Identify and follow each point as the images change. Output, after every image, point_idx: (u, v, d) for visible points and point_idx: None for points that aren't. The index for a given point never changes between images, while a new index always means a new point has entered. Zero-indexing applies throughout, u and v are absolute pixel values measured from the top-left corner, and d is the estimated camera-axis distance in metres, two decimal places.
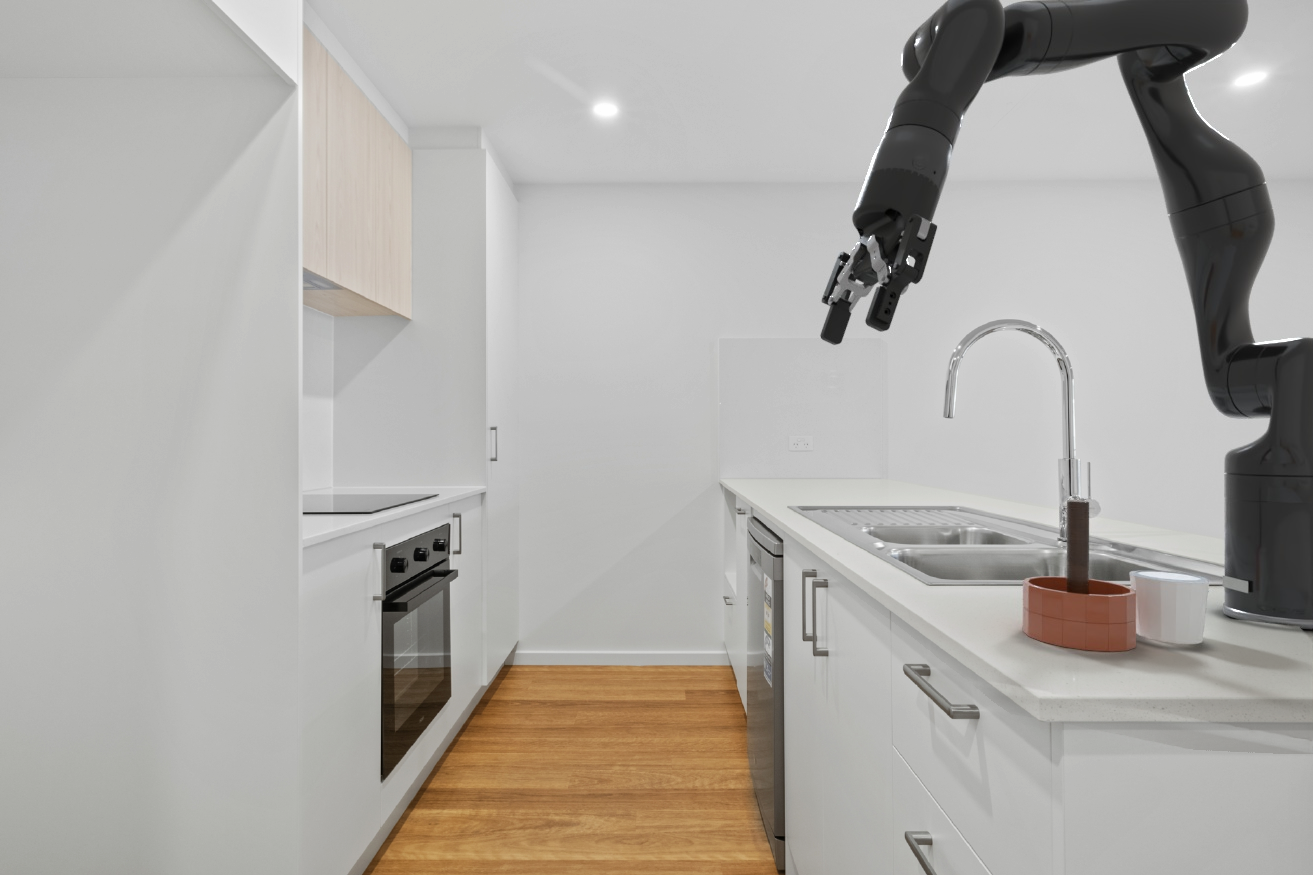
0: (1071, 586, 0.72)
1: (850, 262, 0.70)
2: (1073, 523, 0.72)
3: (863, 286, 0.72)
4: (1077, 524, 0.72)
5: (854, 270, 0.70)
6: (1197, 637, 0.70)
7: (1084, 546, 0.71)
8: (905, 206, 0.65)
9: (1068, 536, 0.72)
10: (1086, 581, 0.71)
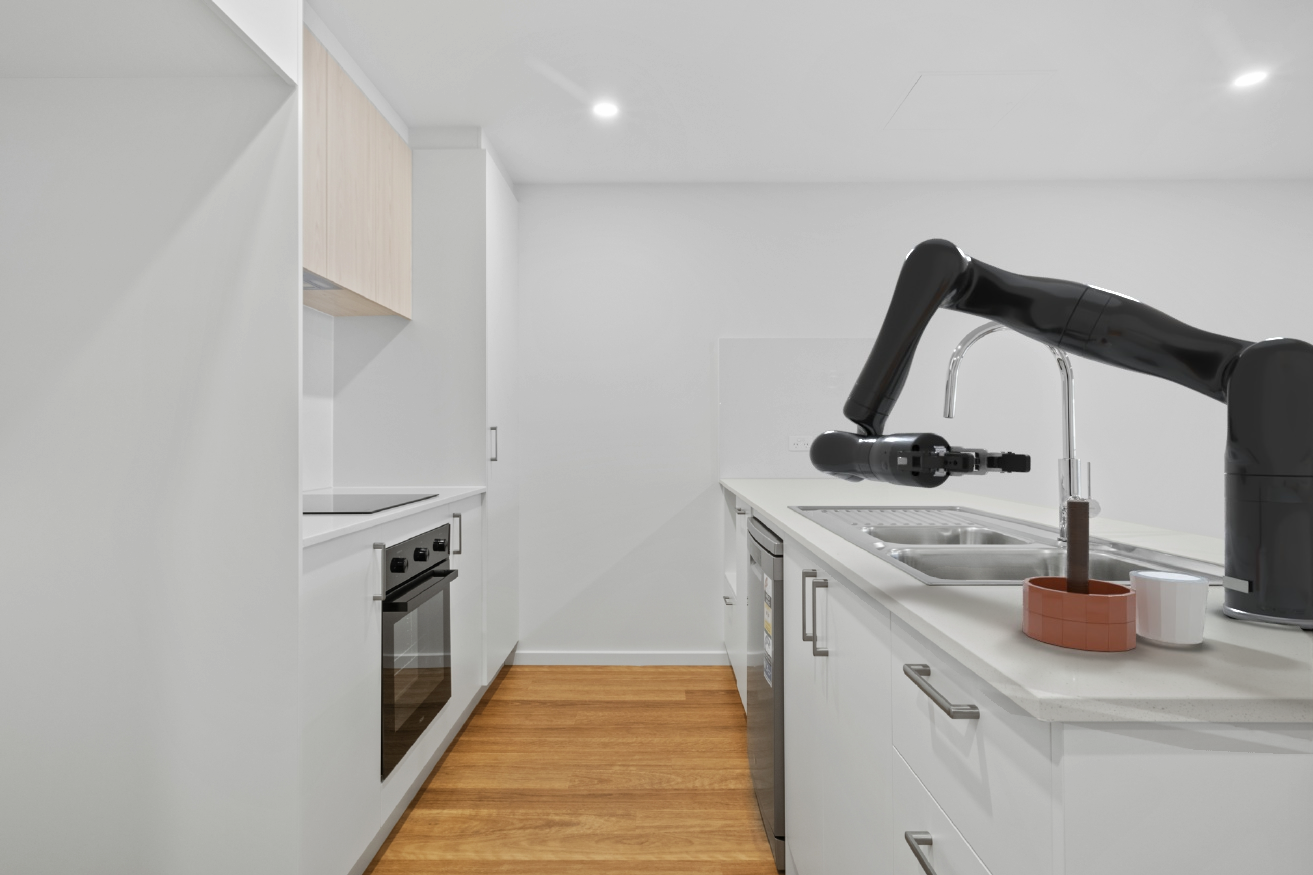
0: (1071, 586, 0.72)
1: (966, 474, 0.90)
2: (1073, 523, 0.72)
3: (979, 454, 0.89)
4: (1077, 524, 0.72)
5: None
6: (1197, 637, 0.70)
7: (1084, 546, 0.71)
8: None
9: (1068, 536, 0.72)
10: (1086, 581, 0.71)
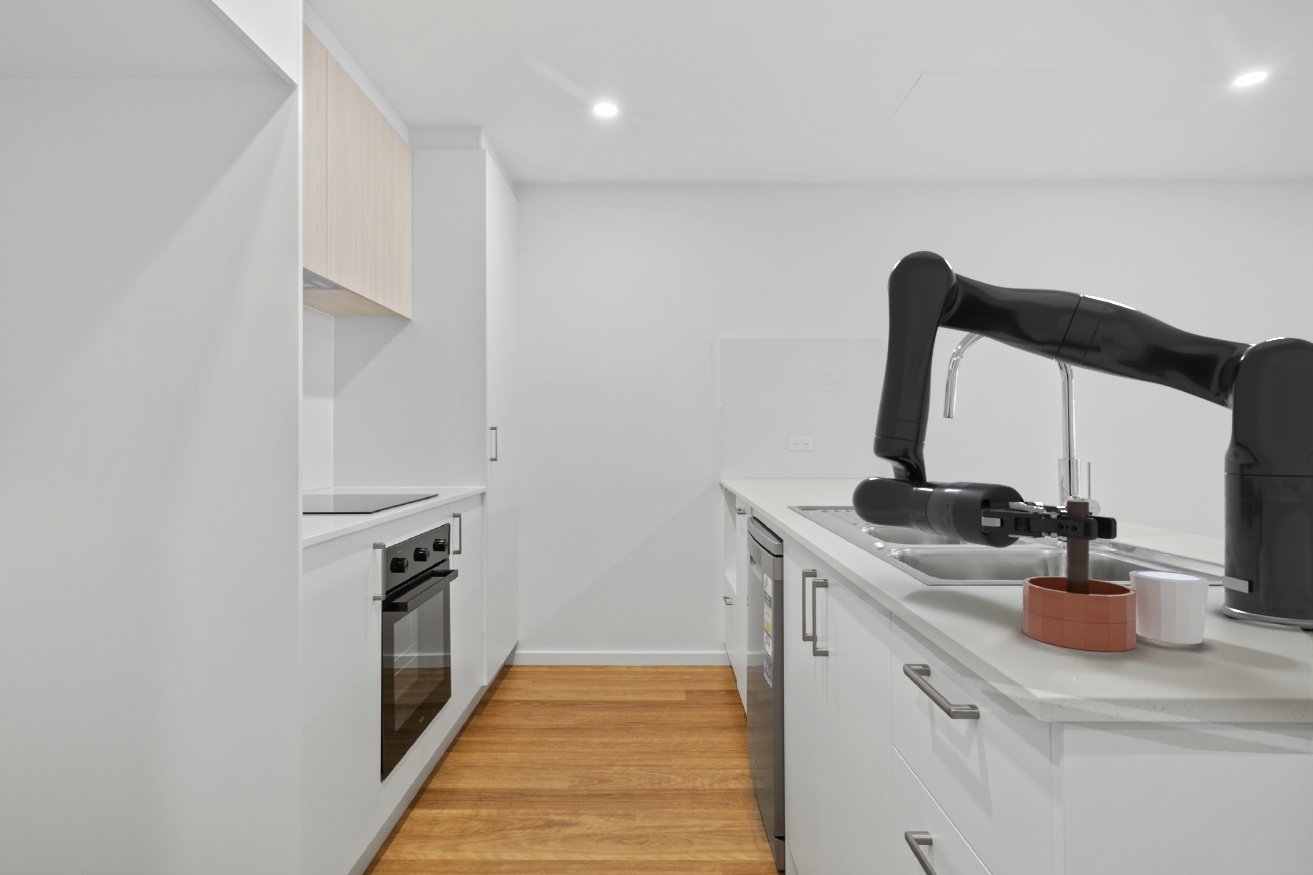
0: (1071, 586, 0.72)
1: None
2: None
3: None
4: None
5: None
6: (1197, 637, 0.70)
7: (1084, 546, 0.71)
8: (974, 523, 0.81)
9: None
10: (1086, 581, 0.71)
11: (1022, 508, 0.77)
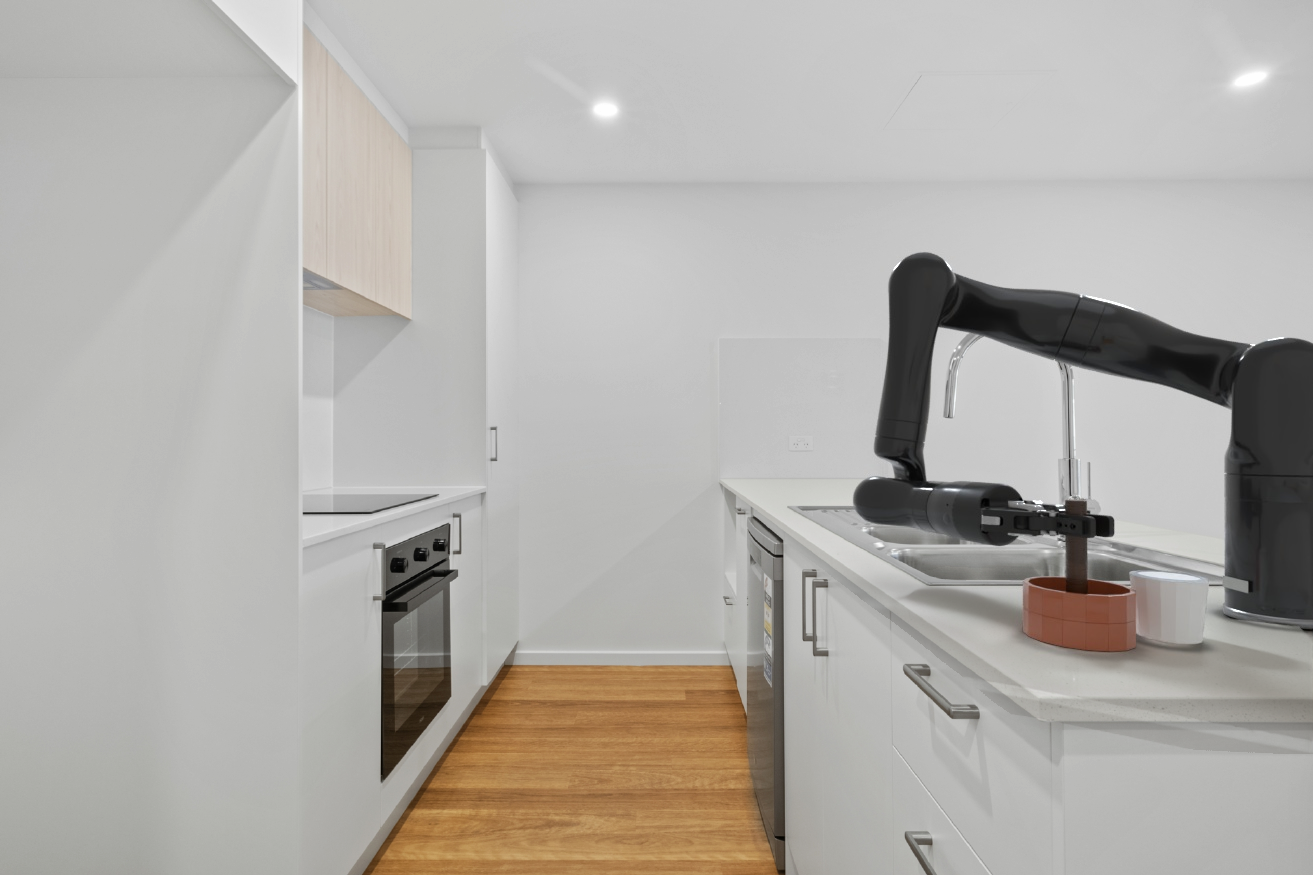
0: (1070, 584, 0.73)
1: None
2: None
3: None
4: None
5: None
6: (1197, 637, 0.70)
7: (1082, 544, 0.72)
8: (974, 522, 0.82)
9: (1066, 535, 0.73)
10: (1084, 579, 0.72)
11: (1021, 507, 0.78)
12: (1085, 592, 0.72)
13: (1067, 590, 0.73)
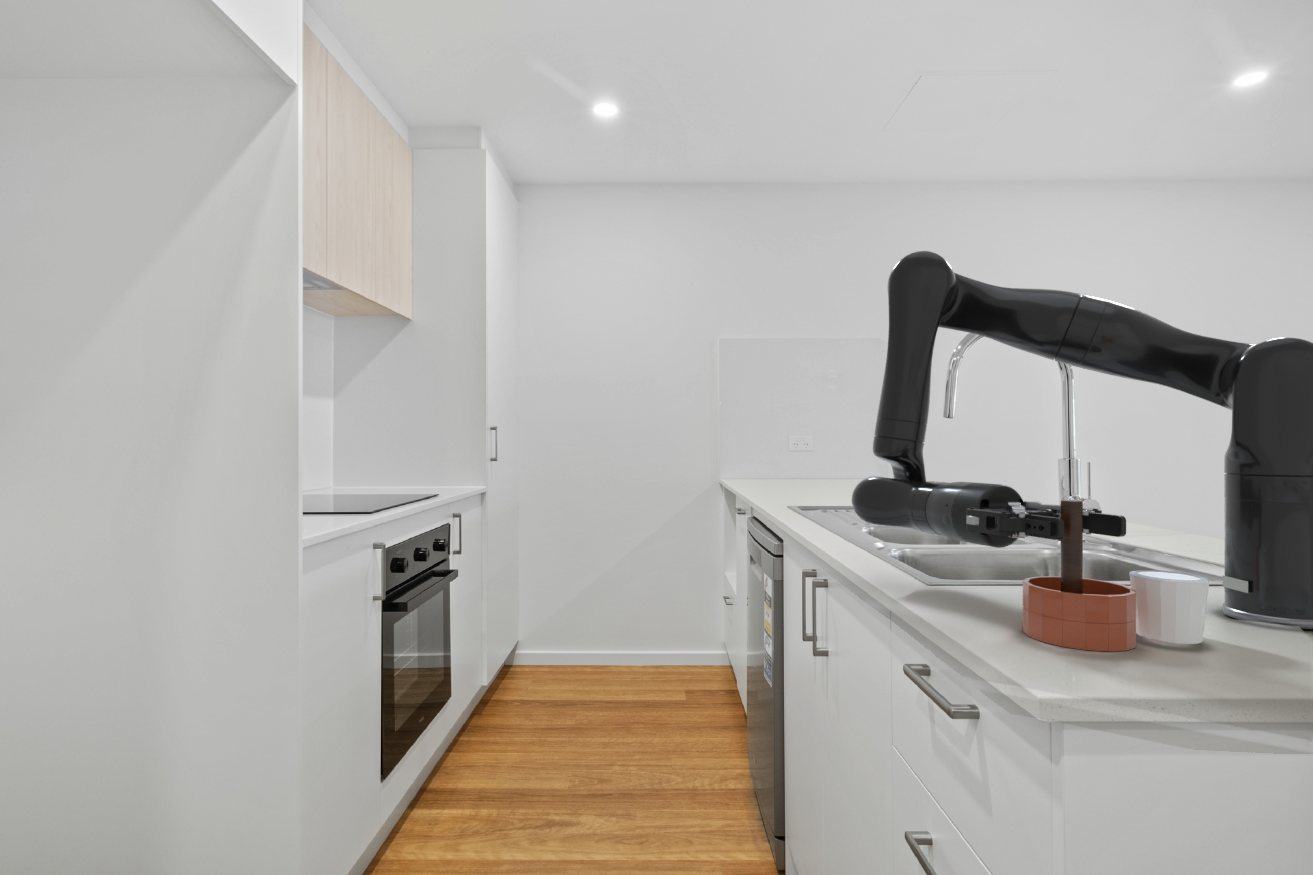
0: (1064, 585, 0.73)
1: None
2: (1066, 523, 0.72)
3: (1060, 511, 0.78)
4: (1070, 523, 0.72)
5: None
6: (1197, 637, 0.70)
7: (1077, 545, 0.72)
8: None
9: None
10: (1079, 580, 0.72)
11: None
12: None
13: None
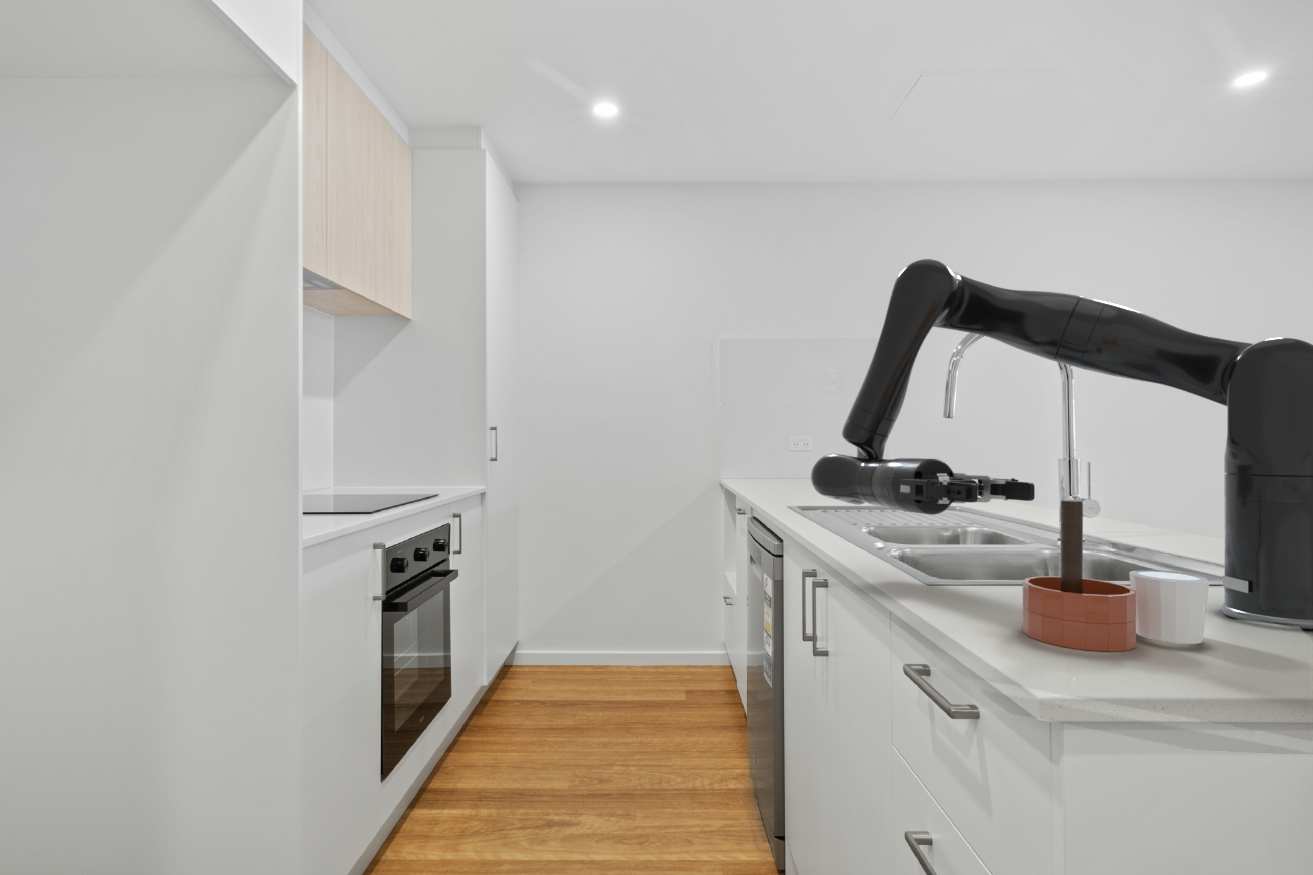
0: (1064, 585, 0.73)
1: None
2: (1066, 523, 0.72)
3: (982, 481, 0.89)
4: (1070, 523, 0.72)
5: None
6: (1197, 637, 0.70)
7: (1077, 545, 0.72)
8: None
9: (1061, 535, 0.73)
10: (1079, 580, 0.72)
11: None
12: None
13: None
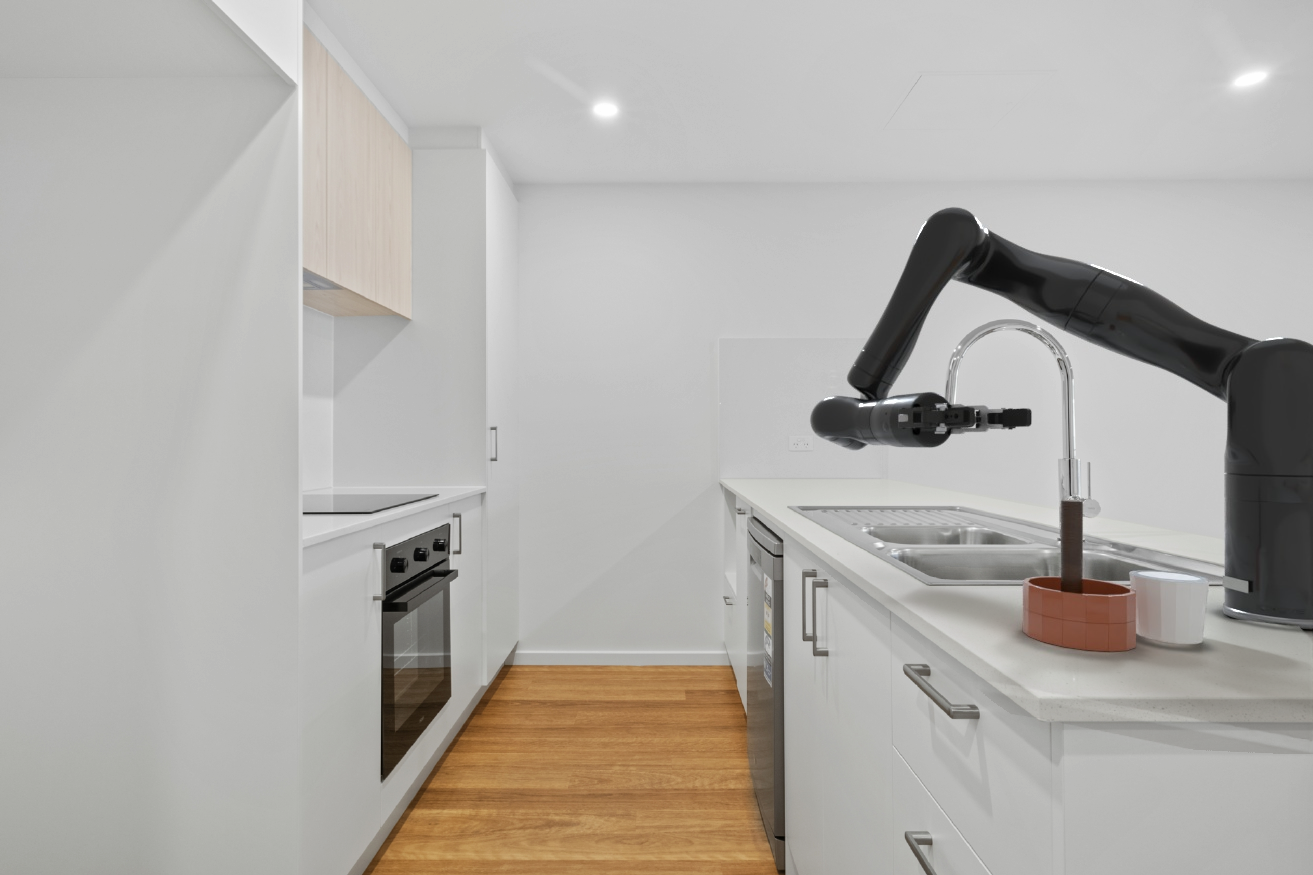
0: (1064, 585, 0.73)
1: None
2: (1066, 523, 0.72)
3: (980, 411, 0.89)
4: (1070, 523, 0.72)
5: (969, 427, 0.89)
6: (1197, 637, 0.70)
7: (1077, 545, 0.72)
8: None
9: (1061, 535, 0.73)
10: (1079, 580, 0.72)
11: None
12: None
13: None
